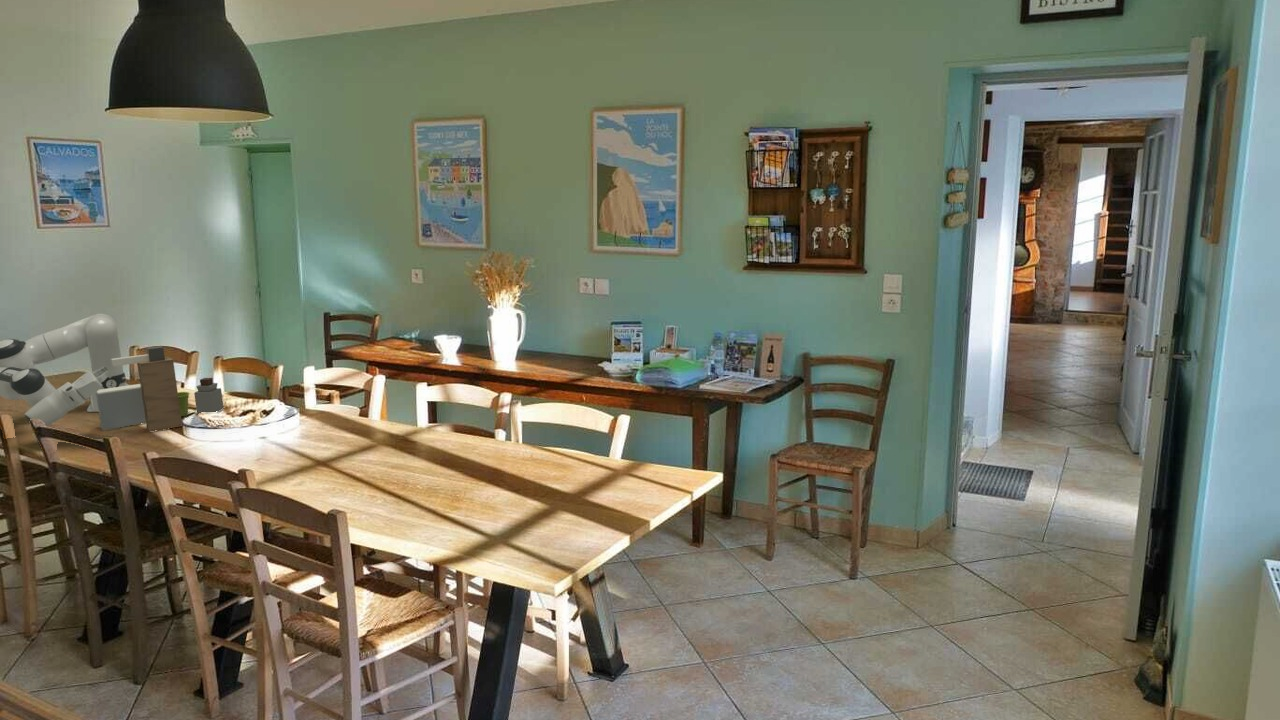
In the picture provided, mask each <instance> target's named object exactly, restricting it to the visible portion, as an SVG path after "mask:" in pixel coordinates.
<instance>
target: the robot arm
mask: <svg viewBox="0 0 1280 720" xmlns="http://www.w3.org/2000/svg"><path fill="white" fill-rule="evenodd" d="M120 347H121V346H120V340H119V333H118V327H117V323H116V321H115V320H114V318H113V317H112V316H110V315H108V314H104V313H96V314H93V315H90V316H88V317H85V318H83V319H80V320H76V321H75V322H72V323H69V324H67V325H65V326H63V327H62V326H61V327H59V328H56V329H53V330H50V331H48V332H47V331H46V332H44V333H42V334H38V335H35V336H33V337H32V338H29V339H27V340H25V341H24V340H22V341H21V340H19V339H14V338H8V339H3V340H0V397H1V398H3V399H6V400H10V401H19V400H22V399H23V400H24V401H25V402H26V403H27V404H28V405H29V407H30V408H29V409H28V410H27V411H25V413H24V414H23V415H24V418H25V419H26V420H27V421H28V422H29V423H30V419H31V418H38V419H40V420H42V421H43V422H44V423H45V425H46V426H47V427H48V426H51V425H52V424H54V423H57V421H58V420H60V419H62V418H63V417H64V416H65V415H66V414H67V413H69V412H71V411H73V410H75V409H76V408H78V407H79V406H82V405H84V404H85V403H86V402H87V400H88V399H89V400H90V402H89V405H88V407H87V409H86V412H87V413H90V412H93V413H94V412H97V413H99V411H98V404H97V398H96V392H97V391H98V390H100V389H107V388H114V387H121V386H128V385H129V383H127V382H126V381H127V379H126V374H125V371H124V367H123V366H124V365H119V366H112V362H111V359H114V358H122V355H121V348H120ZM86 348H87V349H88V354H89V359H90V366H91V370H89V371H87V372H85V373H84V374H82V375H81V376H80V377H78V378H77V379H76V380H75V381H73V382H72V383H71V382H70V381H67V382H65V383H64V384H62V385H61V386H59V387H58V388H57V389H56V388H55V387H54V385H53V384H52V383H51V382H49V380H48V379H47V378H46V377H45V376H44V374H42V372H41V371H40V370H39V369H38V368H37V367H36V365H39V364H44V363H48V362H51V361H54V360H57V359H60V358H63V357H66V356H69V355H72V354H74V353H77V352H79V351H81V350H84V349H86Z"/></svg>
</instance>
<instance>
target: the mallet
mask: <svg viewBox="0 0 1280 720" xmlns="http://www.w3.org/2000/svg"><path fill="white" fill-rule="evenodd" d="M145 349H146V354H139V355H131V356H123V357H122V356H121V358H114V359H111V362H112V366H119V365H122V366H125V365H134V364H137V363H142V362H154V361H162V360H165V357H166V356H165V351H164V347H163V346H162V345H156V346H148V347H146V348H145Z"/></svg>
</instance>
